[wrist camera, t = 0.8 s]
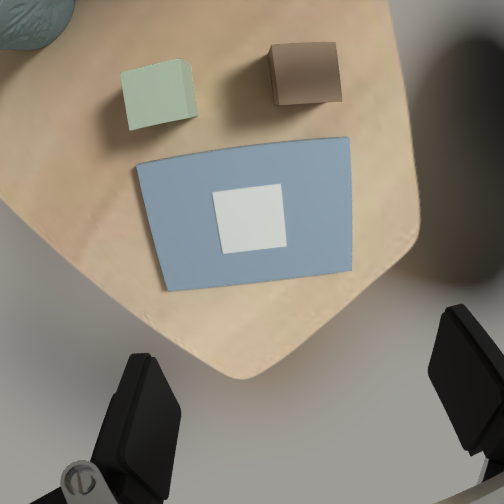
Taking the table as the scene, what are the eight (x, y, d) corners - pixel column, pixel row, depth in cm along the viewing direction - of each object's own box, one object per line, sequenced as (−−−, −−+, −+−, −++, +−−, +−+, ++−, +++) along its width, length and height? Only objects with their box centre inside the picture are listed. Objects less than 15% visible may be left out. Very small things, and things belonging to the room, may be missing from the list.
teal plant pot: (46, 69, 24) (-31, 69, 13) (-3, 41, 21) (-74, 39, 11) (98, -13, 21) (35, -49, 10) (42, -33, 18) (-22, -59, 7)
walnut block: (267, 54, 25) (271, 44, 21) (321, 51, 25) (335, 42, 20) (274, 105, 27) (279, 105, 23) (327, 101, 27) (342, 101, 23)
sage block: (139, 76, 26) (120, 73, 21) (190, 65, 25) (180, 58, 21) (147, 125, 28) (129, 130, 23) (198, 115, 28) (188, 118, 23)
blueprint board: (139, 163, 29) (135, 165, 28) (346, 136, 28) (349, 137, 27) (169, 286, 36) (167, 292, 35) (349, 266, 35) (352, 271, 34)
